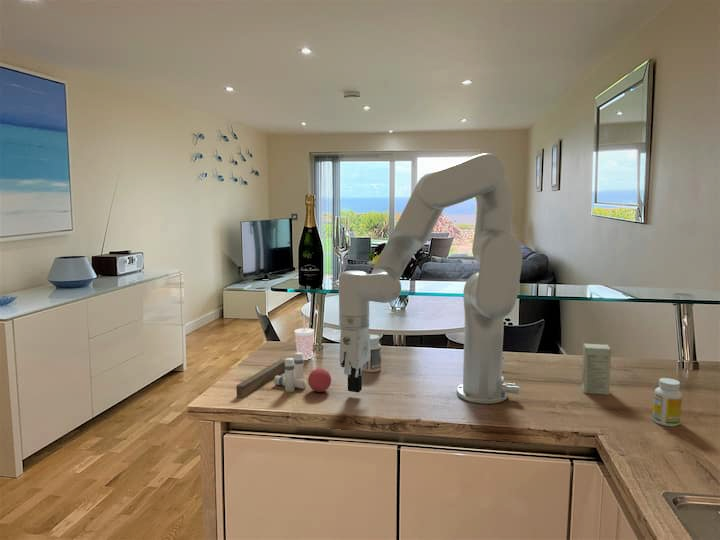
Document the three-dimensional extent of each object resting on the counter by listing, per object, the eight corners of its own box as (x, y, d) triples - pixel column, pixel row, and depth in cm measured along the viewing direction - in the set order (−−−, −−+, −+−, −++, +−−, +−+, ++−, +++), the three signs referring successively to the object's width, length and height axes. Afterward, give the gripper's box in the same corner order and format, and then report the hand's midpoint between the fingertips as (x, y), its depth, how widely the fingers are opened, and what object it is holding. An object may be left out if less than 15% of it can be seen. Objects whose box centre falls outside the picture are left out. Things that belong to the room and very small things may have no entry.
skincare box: (606, 389, 135) (609, 344, 134) (609, 395, 131) (612, 349, 129) (580, 386, 137) (582, 342, 135) (582, 393, 133) (585, 347, 131)
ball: (310, 374, 139) (325, 391, 138) (299, 382, 133) (315, 400, 132) (323, 360, 136) (339, 377, 136) (313, 368, 131) (329, 386, 130)
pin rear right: (305, 382, 141) (304, 352, 139) (301, 386, 138) (300, 355, 137) (297, 381, 142) (296, 351, 140) (292, 384, 139) (292, 354, 138)
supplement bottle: (649, 422, 116) (652, 381, 115) (655, 414, 120) (658, 375, 119) (676, 429, 113) (680, 387, 111) (682, 421, 116) (686, 380, 115)
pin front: (306, 378, 138) (278, 374, 141) (302, 381, 135) (273, 377, 138) (306, 387, 138) (278, 382, 141) (302, 390, 136) (273, 385, 139)
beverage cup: (292, 360, 159) (291, 316, 157) (299, 354, 165) (298, 312, 163) (310, 362, 158) (310, 317, 156) (317, 356, 164) (316, 313, 162)
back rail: (286, 370, 151) (286, 360, 151) (243, 397, 131) (242, 386, 130) (280, 369, 152) (280, 359, 151) (236, 396, 132) (236, 385, 131)
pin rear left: (296, 389, 136) (295, 358, 135) (292, 392, 134) (291, 361, 133) (288, 388, 137) (287, 357, 136) (283, 391, 135) (282, 360, 133)
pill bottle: (381, 366, 154) (381, 334, 152) (380, 373, 148) (380, 339, 147) (362, 365, 155) (362, 333, 153) (360, 372, 149) (360, 339, 147)
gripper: (357, 329, 120) (357, 404, 123) (378, 315, 134) (378, 382, 137) (327, 326, 123) (328, 399, 126) (351, 312, 137) (352, 379, 139)
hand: (354, 390), depth 131 cm, fingers closed
